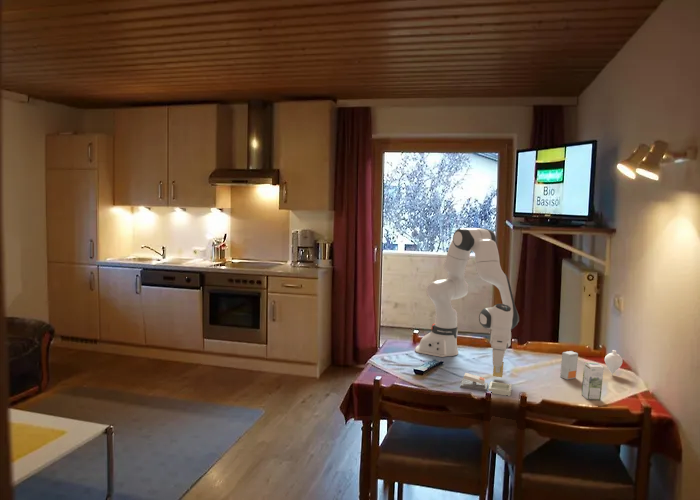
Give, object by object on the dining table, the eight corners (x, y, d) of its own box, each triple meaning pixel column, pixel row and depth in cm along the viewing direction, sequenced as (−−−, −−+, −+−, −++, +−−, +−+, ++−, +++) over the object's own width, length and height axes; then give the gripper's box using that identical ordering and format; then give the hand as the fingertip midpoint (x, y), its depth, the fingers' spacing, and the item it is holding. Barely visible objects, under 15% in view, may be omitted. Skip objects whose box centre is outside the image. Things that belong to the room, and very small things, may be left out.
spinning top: (606, 371, 266) (609, 347, 264) (623, 375, 260) (625, 350, 259) (600, 374, 260) (602, 350, 259) (617, 379, 255) (619, 353, 254)
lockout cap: (492, 375, 247) (493, 362, 247) (493, 373, 251) (494, 359, 250) (501, 377, 246) (503, 363, 245) (502, 374, 250) (503, 361, 249)
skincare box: (567, 380, 251) (569, 354, 250) (559, 377, 255) (561, 352, 254) (576, 378, 254) (578, 353, 253) (569, 375, 258) (571, 350, 257)
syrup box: (594, 395, 233) (597, 362, 232) (601, 400, 228) (604, 366, 226) (581, 394, 233) (583, 361, 232) (587, 400, 227) (590, 366, 226)
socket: (488, 392, 232) (488, 388, 232) (490, 385, 240) (490, 381, 240) (510, 396, 229) (510, 391, 229) (511, 388, 238) (511, 384, 237)
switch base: (460, 387, 237) (460, 382, 237) (462, 381, 245) (462, 376, 245) (486, 391, 234) (486, 386, 233) (487, 385, 241) (488, 380, 241)
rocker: (463, 378, 238) (464, 374, 238) (464, 375, 242) (465, 372, 242) (484, 384, 236) (484, 380, 235) (485, 381, 240) (485, 378, 239)
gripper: (495, 333, 257) (493, 362, 259) (491, 345, 238) (488, 376, 240) (509, 335, 255) (506, 364, 257) (506, 347, 236) (503, 378, 238)
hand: (498, 370), depth 248 cm, fingers closed on lockout cap, 4 cm apart
